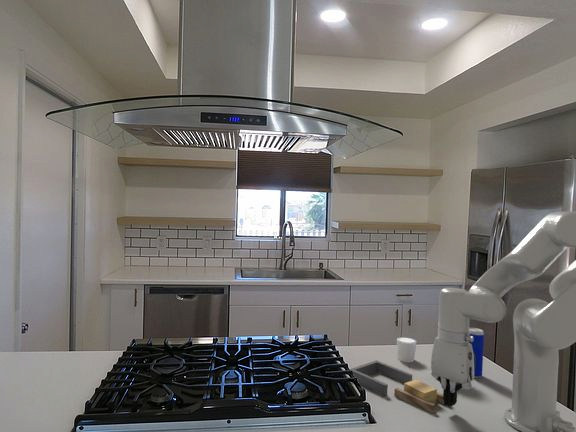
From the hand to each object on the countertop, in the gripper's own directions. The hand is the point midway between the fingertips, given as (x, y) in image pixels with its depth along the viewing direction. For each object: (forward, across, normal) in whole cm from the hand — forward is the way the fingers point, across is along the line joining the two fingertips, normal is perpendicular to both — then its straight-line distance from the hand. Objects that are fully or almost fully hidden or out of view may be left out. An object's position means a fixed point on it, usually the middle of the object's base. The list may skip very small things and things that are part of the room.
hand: (449, 404), depth 105 cm
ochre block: (+2, +9, 0) cm, 9 cm away
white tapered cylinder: (+2, +29, -23) cm, 37 cm away
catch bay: (+2, +22, 0) cm, 23 cm away
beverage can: (+2, +8, -30) cm, 31 cm away
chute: (+2, +8, 0) cm, 9 cm away
